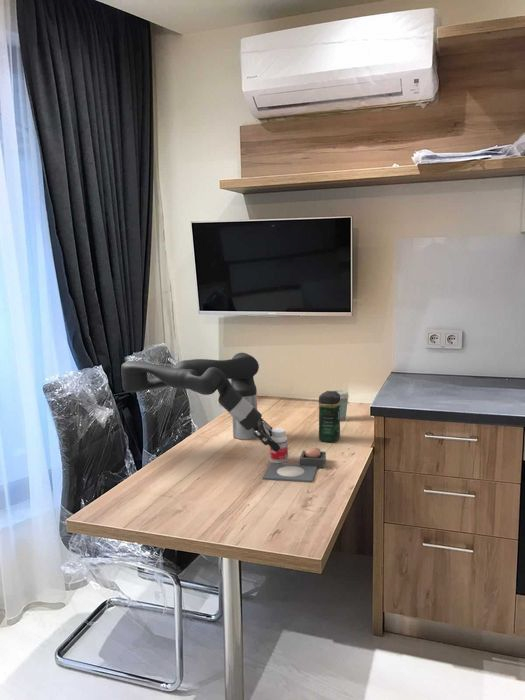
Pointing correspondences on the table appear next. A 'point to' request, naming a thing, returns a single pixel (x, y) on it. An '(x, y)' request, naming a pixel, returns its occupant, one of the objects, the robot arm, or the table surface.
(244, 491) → the table surface
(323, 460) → the button housing
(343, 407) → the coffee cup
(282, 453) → the pill bottle
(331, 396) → the coffee jar
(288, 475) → the grey rectangular pad
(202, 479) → the table surface
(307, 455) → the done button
